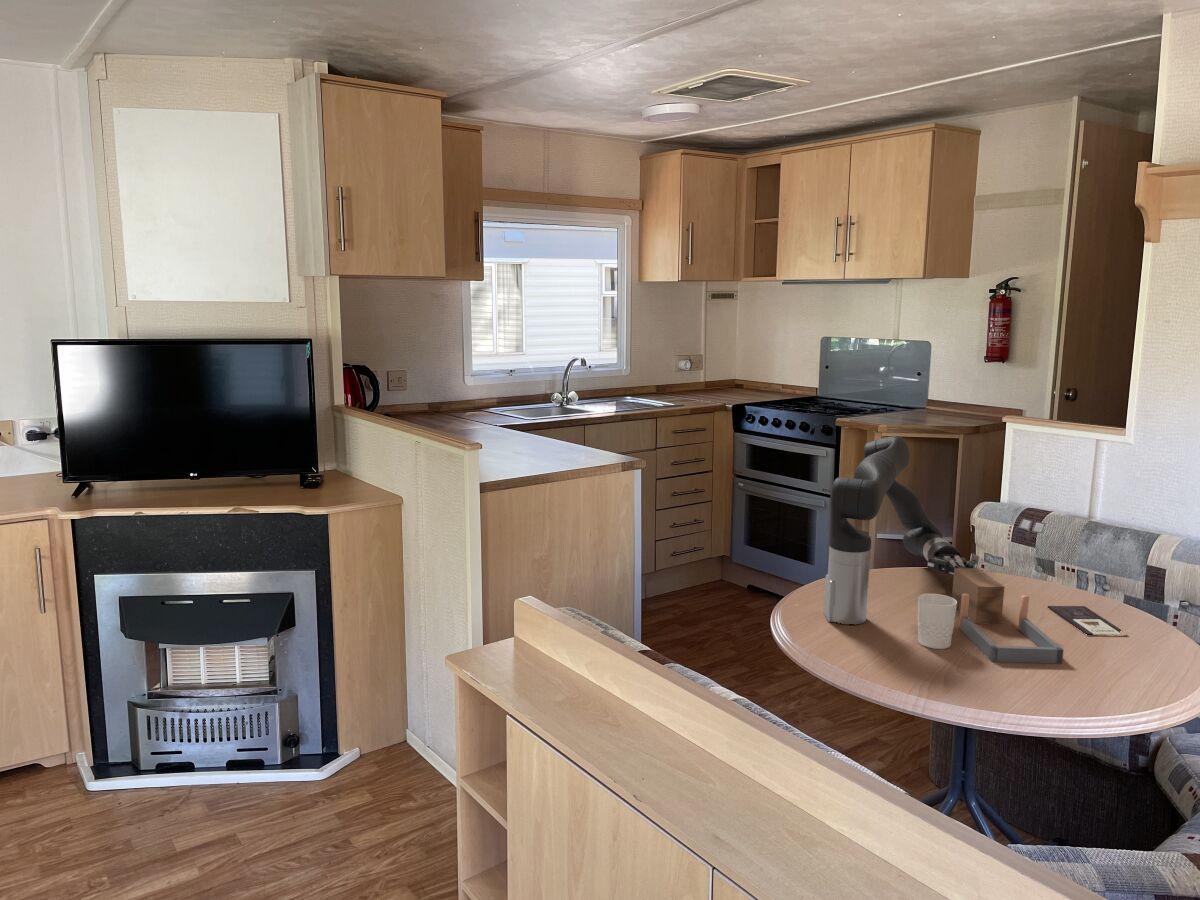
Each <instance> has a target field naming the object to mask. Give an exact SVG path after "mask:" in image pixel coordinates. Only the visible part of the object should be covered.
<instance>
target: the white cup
mask: <svg viewBox="0 0 1200 900" xmlns="http://www.w3.org/2000/svg"><path fill="white" fill-rule="evenodd" d="M956 612H957V601H956V600H955V599H954V598H952V596H949V595H945V594H939V593H923V594H920V595H918V597H917V643H918V644H920V645H921V646H923V647H926V648H929V649H936V650H945V649H948V648H950V647H951V645H952V635H953V633H954V628H955V627H954V626H955V621H956V614H957V613H956Z"/></svg>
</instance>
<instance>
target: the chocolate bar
mask: <svg viewBox="0 0 1200 900" xmlns="http://www.w3.org/2000/svg"><path fill="white" fill-rule="evenodd" d="M1048 608H1049V609H1048ZM1047 609H1048V610H1049V611H1052V612H1053V613H1054V614H1055V615H1057V616H1058V617H1060V618H1061V619H1063V621H1065V622H1067V623H1068V622H1069V623H1068V624H1070V625H1071V624H1072V625H1073V627H1074V626H1075V627H1076V628H1075V627H1074V628H1075V629H1077V628H1078V629H1079V630H1081V631H1082V632H1083V633H1082V632H1081V631H1080V632H1081V633H1082V634H1084V633H1085V634H1087V635H1106V634H1112V635H1114V634H1120V631H1121V630H1122V629H1120V628H1119V627H1118V626H1116V625H1114V624H1113V623H1112V622H1111V621H1108V620H1107V619H1105V618H1103V616H1101V615H1099V614H1097V613H1096V612H1095V611H1093V610H1092V609H1090V608H1089V607H1086V606H1085V605H1080V606H1079V605H1047ZM1072 625H1071V626H1072ZM1078 629H1077V630H1078ZM1079 630H1078V631H1079ZM1085 634H1084V635H1085Z"/></svg>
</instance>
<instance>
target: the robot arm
mask: <svg viewBox="0 0 1200 900" xmlns="http://www.w3.org/2000/svg"><path fill="white" fill-rule="evenodd" d="M905 440H906V439H904V438H902V437H901V436H899V435H892V436H887V437H883V438H879V439H875V440H872V441H868V442H867V443H865V444H864V447H863V460H862V461H860V462H859V464H858V465H857V466H856V468H855V470H854V474H853V478H851V477H841V476H840V477H837V478H835V479H834V481H833V483H832V485H831V489H830V496H829V497H830V503H829V504H830V509H829V510H830V517H829V518H830V522H829V523H830V524H829V544H828V545H829V548H828V549H829V550H828V567H827V574H825V581H824V594H823V595H824V596H823V597H824V598H823V599H824V600H823V612H822V613H823V615H824V616H825V618H826V620H827V622H831V623H836V622H837V624H840V623H841V624H842V625H849V624H854V625H861V624H863V623H865V622H866V621H867V615H868V597H869V596H868V595H869V581H870V580H869V579H870V565H871V549H872V538H871V536H870V535H869V534H868V533H866V532H864V531H862V530H860V529H859V528H857V527H855V526H854V525H853V524H852V523H850V521H849V520H848V519H851V520H861V521H871V520H873V519H875V518H876V517H877V515H878V514H879V512H880V508H881V506H882V504H883V500H884V499H885V495H886V496H887V498H888V499H889V501H890V503H891V504H892V506H893V507H894V511H895V512H896V514H897V516H898V519H899V521H900V523H901V525H902V526H903V527H904V528H905V529H906V530H907V529H908V530H909V531H907V532H906V533H904V535H903V539H902V543H903V546H904V547H905V549H906V550H907V551H908V552H909V553H911V555H913V556H916V557H921V558H925V560H926V561H927V569H928V570H932V571H935V572H938V573H942V574H945V575H949V574H951V575H953V576H954V568H977V565H978V560H977V559H971V560H967V559H966V558H965V557H963V556H962V554H961V552H960V551H959V550H958V549H957V547H955V546H954V545H953V544H952V543H950V542H949V541H947V540H946V539H944V538H943V533H942V530H941V529H940V528H939V527H938V526H937V524H936V523H935V522H933V521H932V519H930V518H929V516H928V515H927V513H926V512H925V509H924V507H923V504H922V502H921V500H920V499H919V497H918V495H917V494H916V493H915V492H914V491H913V490H912V489H910V488H909V487H907V486H905V485H904V484H902V483H901V482H899V481H898V480H896V479H897V478H898V475H899V474H900V473H901V472H903V471H904V470H905V469H906V468H907V467H908V466H909V464H910V458H911V455H910V454H911V453H910V448H909V446H908V443H907V441H905ZM841 624H840V625H841Z"/></svg>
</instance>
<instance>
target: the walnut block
mask: <svg viewBox="0 0 1200 900" xmlns="http://www.w3.org/2000/svg"><path fill="white" fill-rule="evenodd" d="M951 593H952V594H951V597H952V598H954V599H955V600H956V601H957V607H956V609H958V610H959V611H960V612H961V600H962V594H969V595H970V596H969V608H968V617H969V618H970V620H971V621H972V622H973V623H974V624H975V623H991V624H993V625H994V624H995V625H999V624H1002V616H1003V605H1004V599H1005V598H1004V596H1005V586H1004V585H1003V584H1002V583H1000V582H999V581H997V580H996V579H995V578H993V577H992V576H990V575H989V574H988V573H986V572H984V571H983V570H982V569H981V568H977V567H976V568H954V575H953V580H952V592H951Z"/></svg>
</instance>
